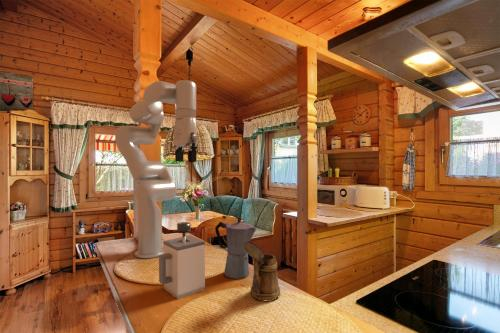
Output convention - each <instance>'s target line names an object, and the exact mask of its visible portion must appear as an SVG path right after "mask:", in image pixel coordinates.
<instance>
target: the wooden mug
mask: <svg viewBox="0 0 500 333" xmlns="http://www.w3.org/2000/svg"><path fill="white" fill-rule="evenodd" d="M244 248H245V251H246V252H247V253H248V256H250V257H252V259H253V261H254V262H253V276H252V283H251V284H252V285H251V287H250V293H249V294H250V297H252V298H253V297H254V298H253V299H255V298H256V299H255V300H257V299H260V300H272V299H275V298H277V297H278V296H279V295H281V289H280V288H281V287H280V285H279V284H280V283H279V277H278V276H279V275H278V262H277V258H276V256H275V255H273V254H269V253H264V251H263V249H262V248H261V247H260V246H259V245H257V244H256V243H254V242H252V241H251V240H250V241H248V242H246V243H245V244H244ZM279 297H280V296H279ZM277 299H278V298H277ZM260 300H259V301H260ZM275 300H276V299H275Z"/></svg>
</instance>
